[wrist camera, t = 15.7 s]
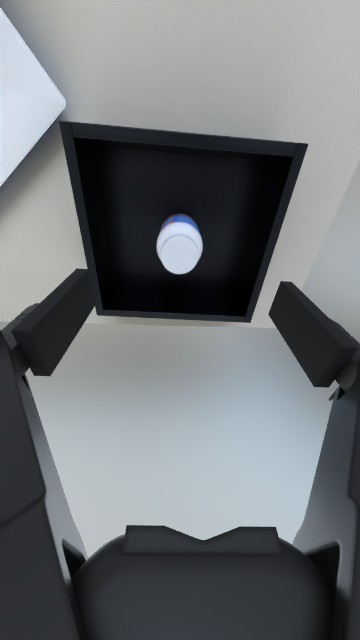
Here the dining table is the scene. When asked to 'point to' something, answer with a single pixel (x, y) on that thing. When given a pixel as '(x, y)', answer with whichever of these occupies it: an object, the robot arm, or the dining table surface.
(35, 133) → the plate
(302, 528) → the robot arm
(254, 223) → the basin
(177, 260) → the pill bottle
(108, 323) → the dining table surface
